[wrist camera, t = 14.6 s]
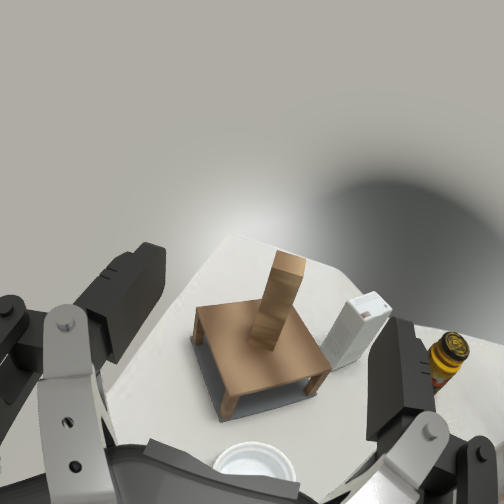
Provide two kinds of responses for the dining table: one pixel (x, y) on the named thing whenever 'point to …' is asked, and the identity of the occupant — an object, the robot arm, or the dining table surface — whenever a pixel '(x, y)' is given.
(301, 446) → the dining table surface
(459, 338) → the condiment
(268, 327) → the wooden stool with post
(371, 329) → the skincare box
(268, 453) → the ramekin
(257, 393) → the mat
